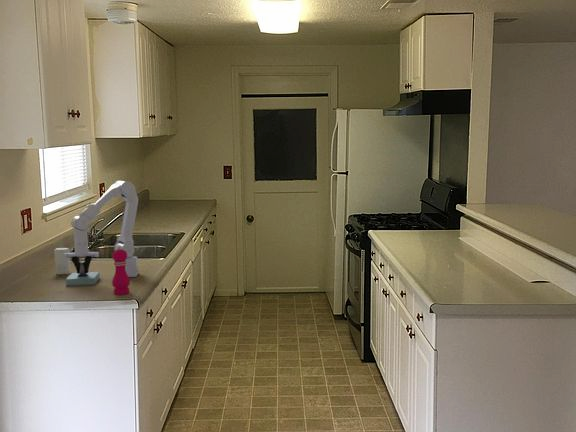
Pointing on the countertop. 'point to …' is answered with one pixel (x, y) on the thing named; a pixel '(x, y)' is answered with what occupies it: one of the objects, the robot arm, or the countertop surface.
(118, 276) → the pepper mill
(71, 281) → the socket block
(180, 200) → the countertop surface
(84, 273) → the metal peg
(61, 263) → the skincare box
